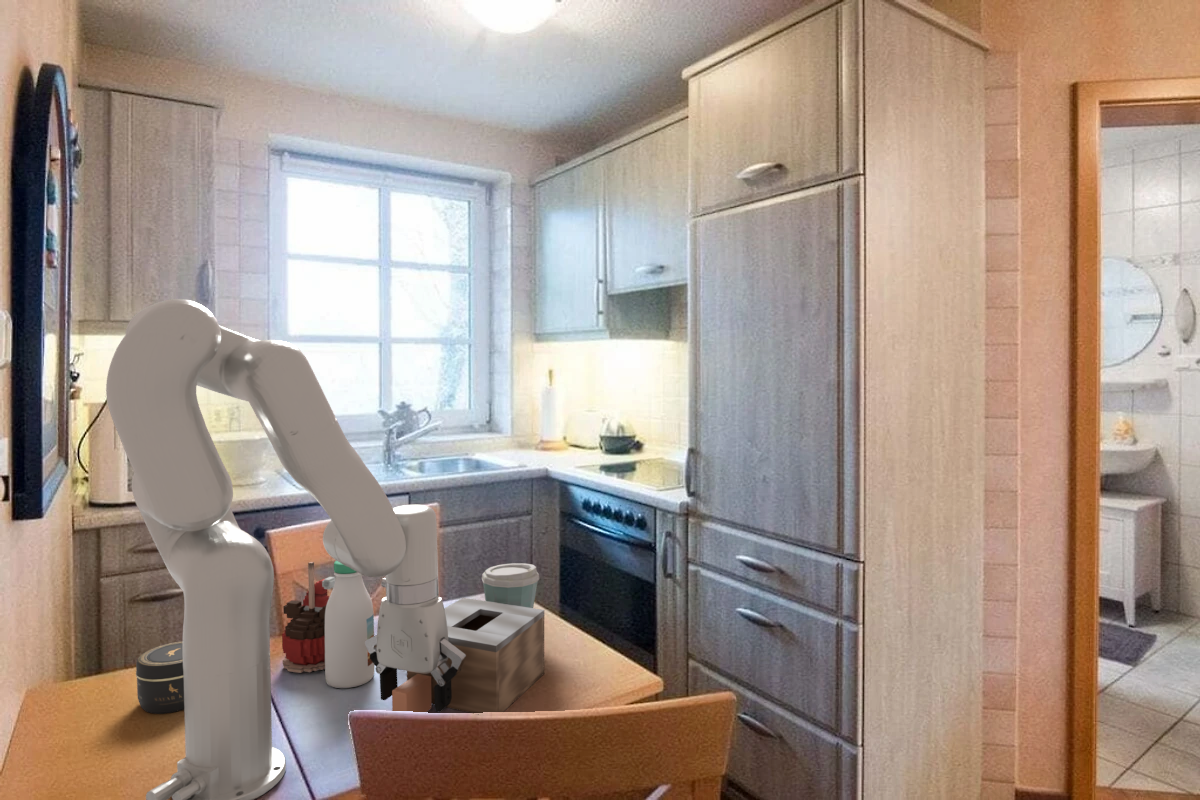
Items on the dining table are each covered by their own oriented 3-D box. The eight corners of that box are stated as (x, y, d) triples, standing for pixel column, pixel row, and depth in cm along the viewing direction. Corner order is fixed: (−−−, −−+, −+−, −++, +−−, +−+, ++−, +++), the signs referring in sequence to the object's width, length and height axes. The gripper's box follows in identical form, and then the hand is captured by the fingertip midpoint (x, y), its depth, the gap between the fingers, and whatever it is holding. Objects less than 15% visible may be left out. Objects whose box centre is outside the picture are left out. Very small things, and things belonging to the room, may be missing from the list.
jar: (135, 723, 100) (133, 672, 100) (138, 695, 109) (136, 647, 108) (214, 705, 106) (213, 656, 105) (210, 680, 114) (209, 634, 114)
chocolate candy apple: (267, 671, 117) (265, 567, 116) (305, 650, 126) (303, 553, 125) (321, 679, 114) (319, 573, 113) (355, 657, 123) (354, 557, 122)
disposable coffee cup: (469, 650, 126) (469, 570, 125) (504, 630, 136) (503, 555, 135) (517, 662, 121) (517, 578, 120) (549, 641, 131) (550, 563, 130)
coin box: (496, 718, 102) (496, 645, 101) (407, 698, 108) (406, 629, 107) (544, 673, 117) (544, 610, 116) (463, 658, 123) (463, 597, 122)
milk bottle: (358, 691, 110) (357, 568, 109) (315, 687, 112) (313, 565, 111) (383, 670, 118) (382, 555, 117) (342, 666, 119) (340, 552, 118)
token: (406, 727, 100) (406, 693, 99) (392, 724, 100) (392, 690, 100) (431, 708, 105) (431, 676, 105) (417, 705, 106) (417, 673, 106)
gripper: (348, 591, 102) (352, 703, 103) (447, 605, 95) (450, 725, 96) (381, 575, 109) (385, 681, 110) (476, 588, 102) (478, 700, 103)
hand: (415, 701), depth 103 cm, fingers open, 9 cm apart
